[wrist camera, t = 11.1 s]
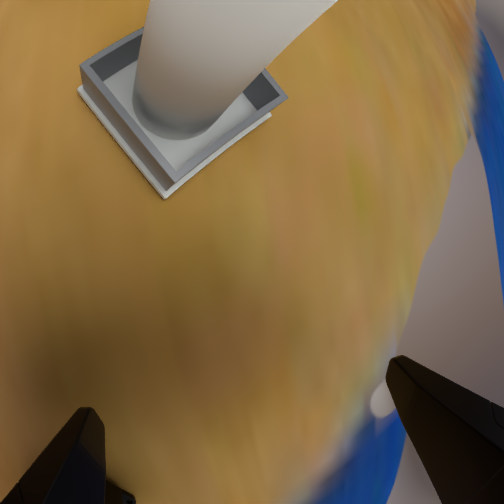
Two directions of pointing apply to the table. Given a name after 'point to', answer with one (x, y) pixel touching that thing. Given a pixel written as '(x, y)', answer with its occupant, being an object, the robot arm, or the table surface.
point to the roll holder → (150, 145)
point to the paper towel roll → (209, 57)
